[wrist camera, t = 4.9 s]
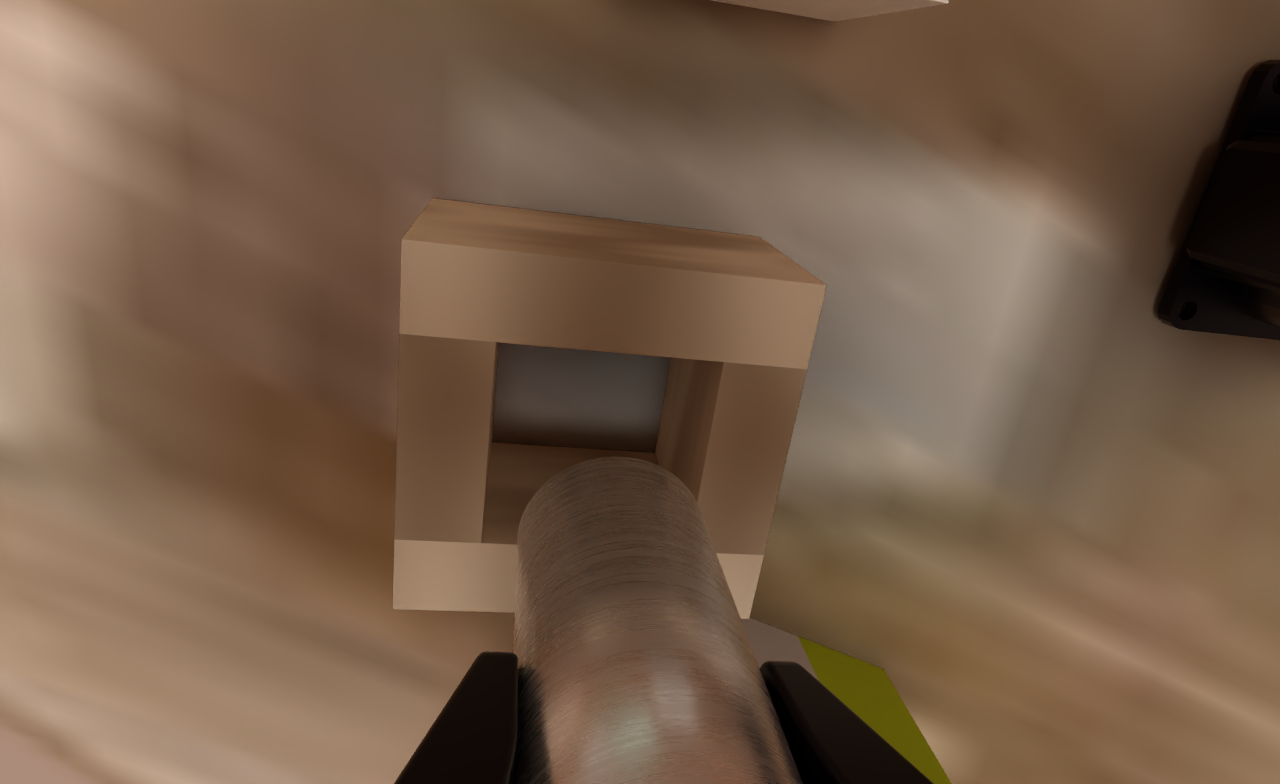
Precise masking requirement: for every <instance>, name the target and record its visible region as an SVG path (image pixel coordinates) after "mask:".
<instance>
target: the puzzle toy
mask: <svg viewBox="0 0 1280 784" xmlns="http://www.w3.org/2000/svg"><path fill="white" fill-rule="evenodd" d="M741 620H742V623H743V626H744V628H745V631H746V634H747V636H748V639H749V642H750V644H751V647H752V650H753V652H754V655H755V658H756V660H757V663H758V666H759V668H760V667H761V665H762V664H763V663H764V662H767V661H792V662H796V663H798V664H800V665H801V666H803V667H804V668H805V669H806V670H807V671H808V672H809V673H811V674H812V675H813V676H814V677H815V678H816V679H817V680H818V681H820V682H821V683H822V684H823V685H824V686H825V687H826V688H827V689H828V690H830V691H831V692H832V693H833V694H834V695H835V696H836V697H837V698H839V699H840V700H841V701H842V702H843V703H844V704H845V705H846V706H848V707H849V708H850V709H851V710H852V711H853V712H854V713H855V714H856V715H858V716H859V717H860V718H861V719H862V720H863V721H864V722H865V723H867V724H868V725H869V726H870V727H871V728H872V729H873V730H874V731H876V732H877V733H878V734H879V735H880V736H881V737H882V738H883V739H884V740H886V741H887V742H888V743H889V744H890V745H891V746H892V747H893V748H895V749H896V750H897V751H898V752H899V753H900V754H901V755H902V756H904V757H905V758H906V759H907V760H908V761H909V762H910V763H911V764H912V765H914V766H915V767H916V768H917V769H918V770H919V771H920V772H921V773H923V774H924V775H925V776H926V777H927V778H928V779H929V780H930V781H932V782H933V783H934V784H951V782H950V780H949V779H948V777H947V775H946V773H945V772H944V770H943V768H942V767H941V765H940V763H939V762H938V760H937V758H936V757H935V755H934V753H933V752H932V750H931V748H930V746H929V745H928V743H927V741H926V740H925V738H924V736H923V735H922V733H921V731H920V730H919V728H918V726H917V725H916V723H915V721H914V720H913V718H912V716H911V714H910V713H909V711H908V709H907V708H906V706H905V704H904V703H903V701H902V699H901V698H900V696H899V694H898V693H897V691H896V689H895V688H894V686H893V684H892V682H891V681H890V679H889V677H888V676H887V674H886V672H885V671H884V669H882V668H879V667H877V666H874V665H872V664H869V663H866V662H864V661H861V660H859V659H856V658H853V657H851V656H848V655H845V654H843V653H840V652H838V651H835V650H832V649H830V648H827V647H825V646H822V645H819V644H817V643H814V642H812V641H809V640H806V639H804V638H801V637H798V636H796V635H793V634H791V633H788V632H785V631H783V630H780V629H778V628H775V627H772V626H770V625H767V624H765V623H762V622H759V621H757V620H754V619H752V618H749V619H741Z"/></svg>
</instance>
